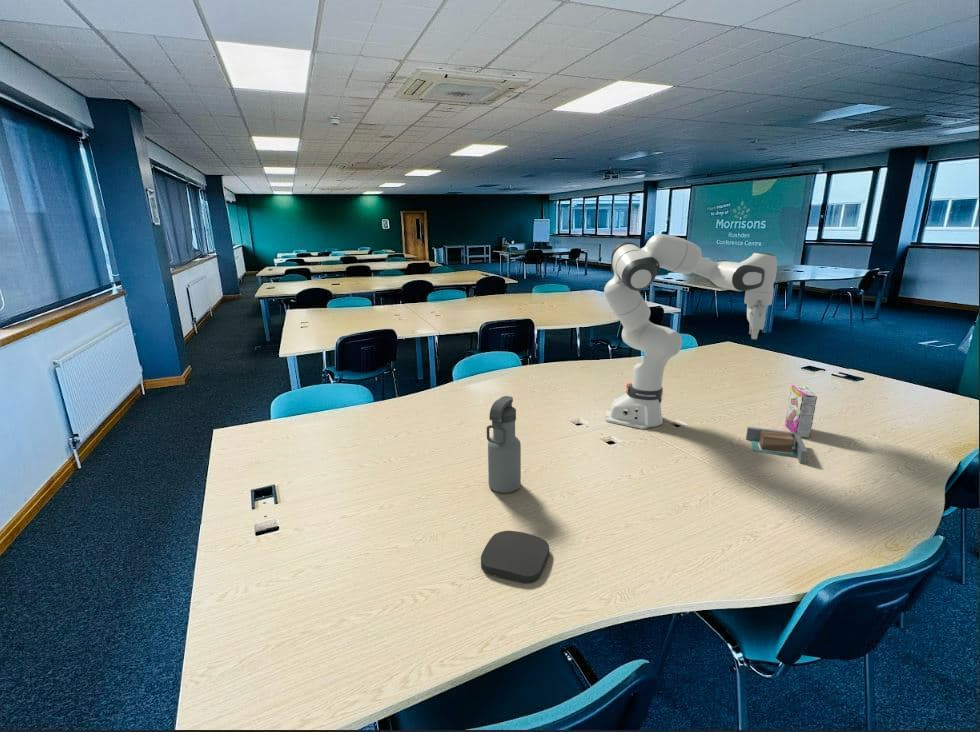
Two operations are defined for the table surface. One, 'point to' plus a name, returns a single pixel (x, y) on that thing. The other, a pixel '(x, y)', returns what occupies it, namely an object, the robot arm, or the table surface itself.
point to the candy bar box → (800, 410)
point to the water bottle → (503, 448)
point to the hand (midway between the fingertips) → (752, 336)
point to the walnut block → (776, 441)
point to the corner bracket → (797, 451)
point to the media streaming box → (515, 556)
